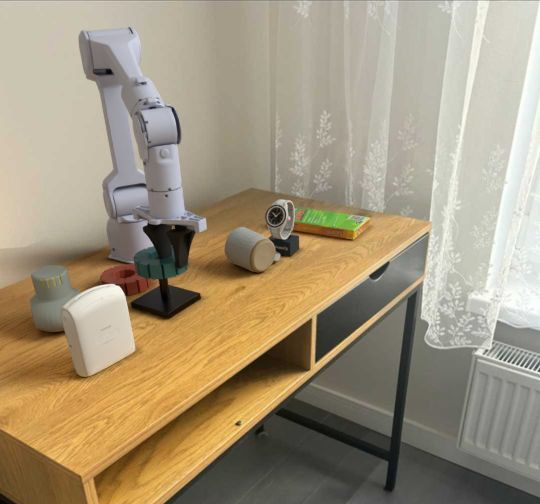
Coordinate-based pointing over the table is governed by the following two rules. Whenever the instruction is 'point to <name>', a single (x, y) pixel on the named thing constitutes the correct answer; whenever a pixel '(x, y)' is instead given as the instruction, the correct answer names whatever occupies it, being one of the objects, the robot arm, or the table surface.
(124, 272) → the brick ring
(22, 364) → the table surface
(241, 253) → the ceramic mug
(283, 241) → the watch
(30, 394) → the table surface
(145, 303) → the peg stand
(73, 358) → the photo printer
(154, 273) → the teal ring
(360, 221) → the game box
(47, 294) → the air freshener
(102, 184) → the robot arm
